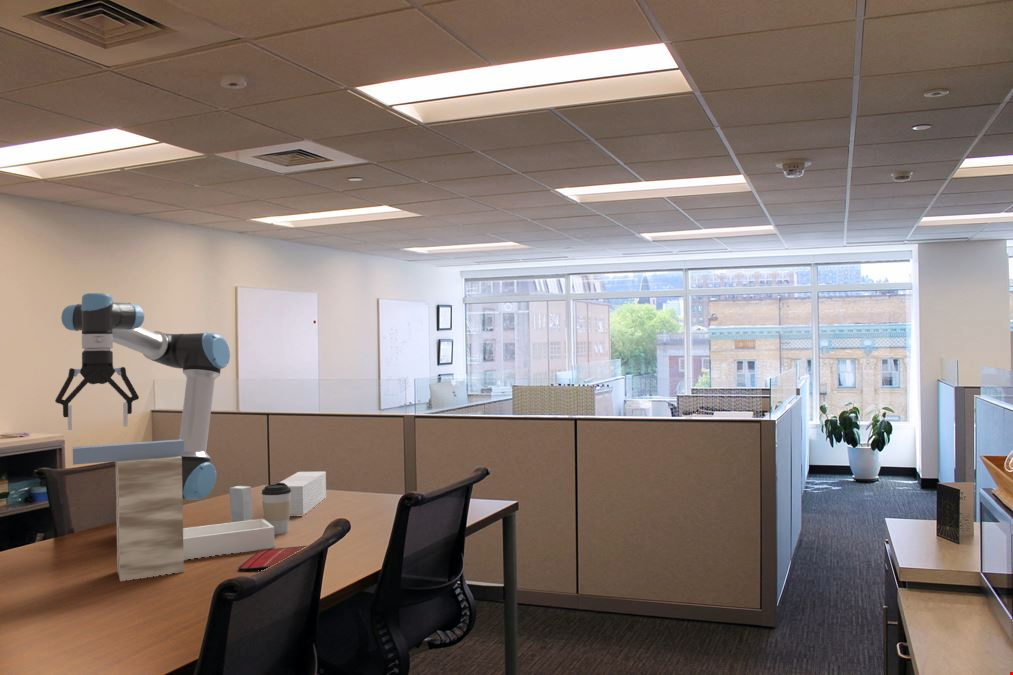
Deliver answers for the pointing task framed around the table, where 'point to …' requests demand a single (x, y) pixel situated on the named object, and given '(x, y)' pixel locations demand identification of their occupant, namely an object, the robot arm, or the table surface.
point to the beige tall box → (149, 517)
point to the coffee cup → (277, 506)
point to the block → (127, 451)
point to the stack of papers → (305, 491)
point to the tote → (227, 538)
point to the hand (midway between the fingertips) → (98, 427)
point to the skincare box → (240, 503)
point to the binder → (268, 558)
